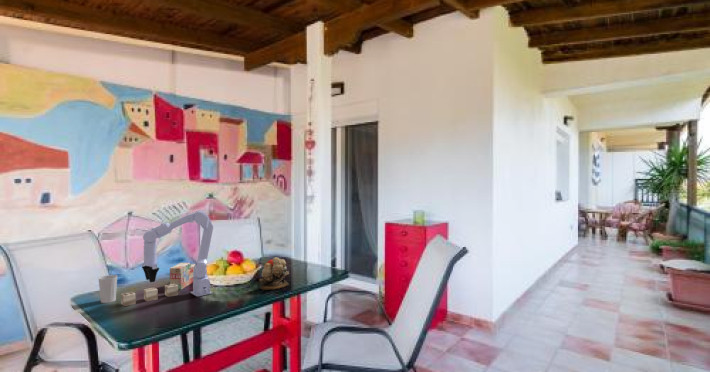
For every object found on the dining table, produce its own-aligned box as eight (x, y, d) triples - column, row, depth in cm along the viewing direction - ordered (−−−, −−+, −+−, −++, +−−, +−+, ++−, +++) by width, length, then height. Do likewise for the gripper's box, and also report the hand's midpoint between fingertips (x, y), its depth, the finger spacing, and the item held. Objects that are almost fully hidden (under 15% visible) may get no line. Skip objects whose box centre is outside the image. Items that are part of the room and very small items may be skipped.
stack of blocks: (188, 279, 226) (187, 259, 226) (198, 279, 226) (198, 259, 226) (169, 289, 205) (169, 267, 205) (181, 289, 205) (180, 267, 204)
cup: (121, 299, 189) (121, 275, 188) (106, 304, 181) (106, 279, 181) (110, 297, 191) (109, 274, 191) (94, 302, 184) (94, 278, 184)
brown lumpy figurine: (282, 281, 221) (283, 253, 221) (294, 286, 213) (294, 256, 212) (255, 287, 209) (255, 257, 208) (266, 292, 200) (266, 261, 200)
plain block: (157, 299, 189) (157, 289, 189) (146, 301, 186) (146, 291, 185) (154, 297, 193) (154, 287, 192) (143, 299, 189) (143, 289, 189)
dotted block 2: (178, 294, 196) (178, 285, 196) (168, 297, 193) (168, 287, 192) (174, 292, 200) (174, 283, 200) (164, 294, 196) (164, 285, 196)
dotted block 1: (135, 304, 182) (135, 293, 182) (123, 306, 178) (123, 296, 178) (132, 301, 186) (132, 291, 185) (121, 303, 182) (121, 293, 182)
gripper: (137, 253, 191) (137, 279, 191) (145, 257, 181) (146, 285, 181) (152, 251, 196) (152, 276, 196) (161, 255, 185) (161, 282, 186)
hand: (150, 280), depth 189 cm, fingers open, 5 cm apart
